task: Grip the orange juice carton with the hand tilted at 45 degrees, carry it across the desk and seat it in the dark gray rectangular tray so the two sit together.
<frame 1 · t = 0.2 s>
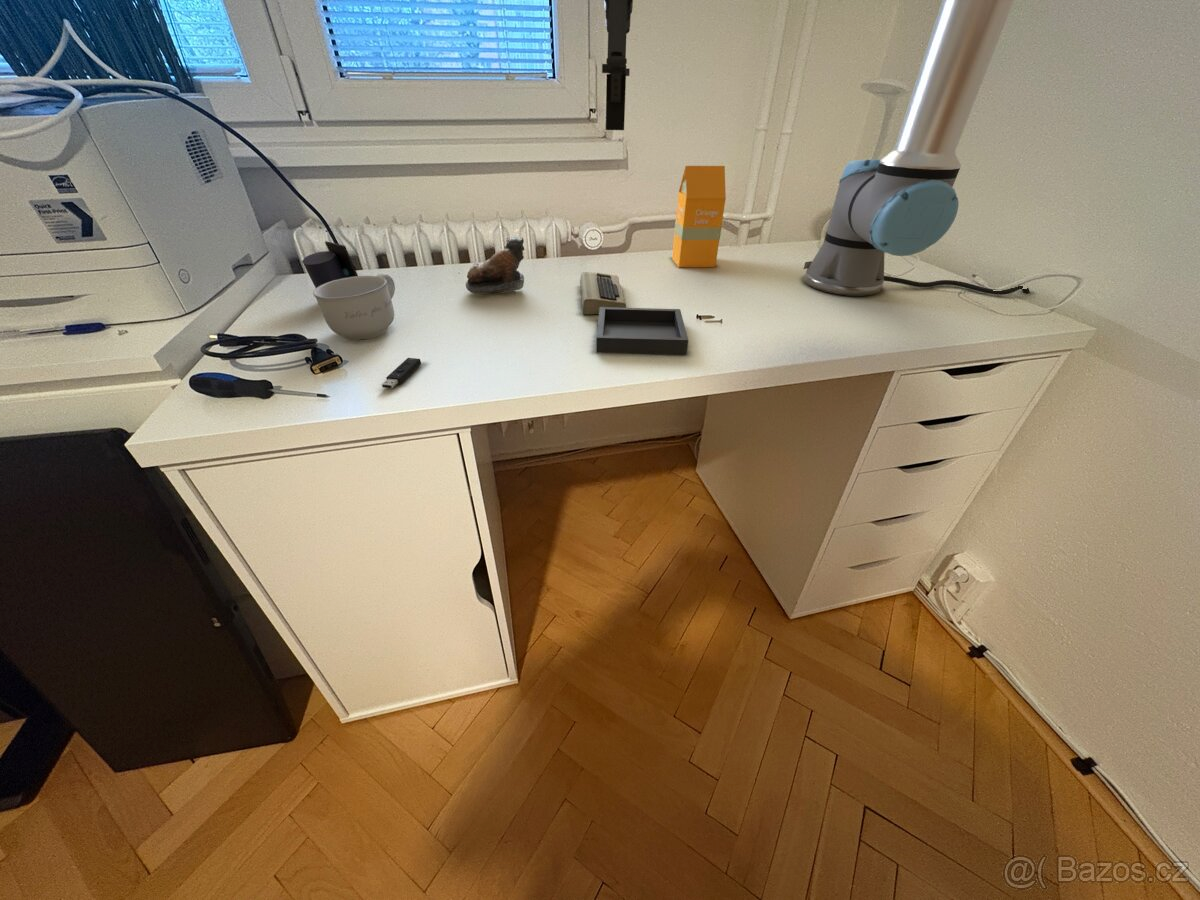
hand: (615, 127, 76), 28 cm above the table, tool pointing down, fingers open, 13 cm apart
usb flash drive: (402, 377, 68), on the table
dark gray rectangular tray: (640, 336, 80), on the table
bison figurine: (497, 292, 97), on the table
computer: (601, 300, 94), on the table
speaker: (341, 303, 91), on the table
orange juice: (693, 263, 115), on the table
teacup: (372, 330, 81), on the table
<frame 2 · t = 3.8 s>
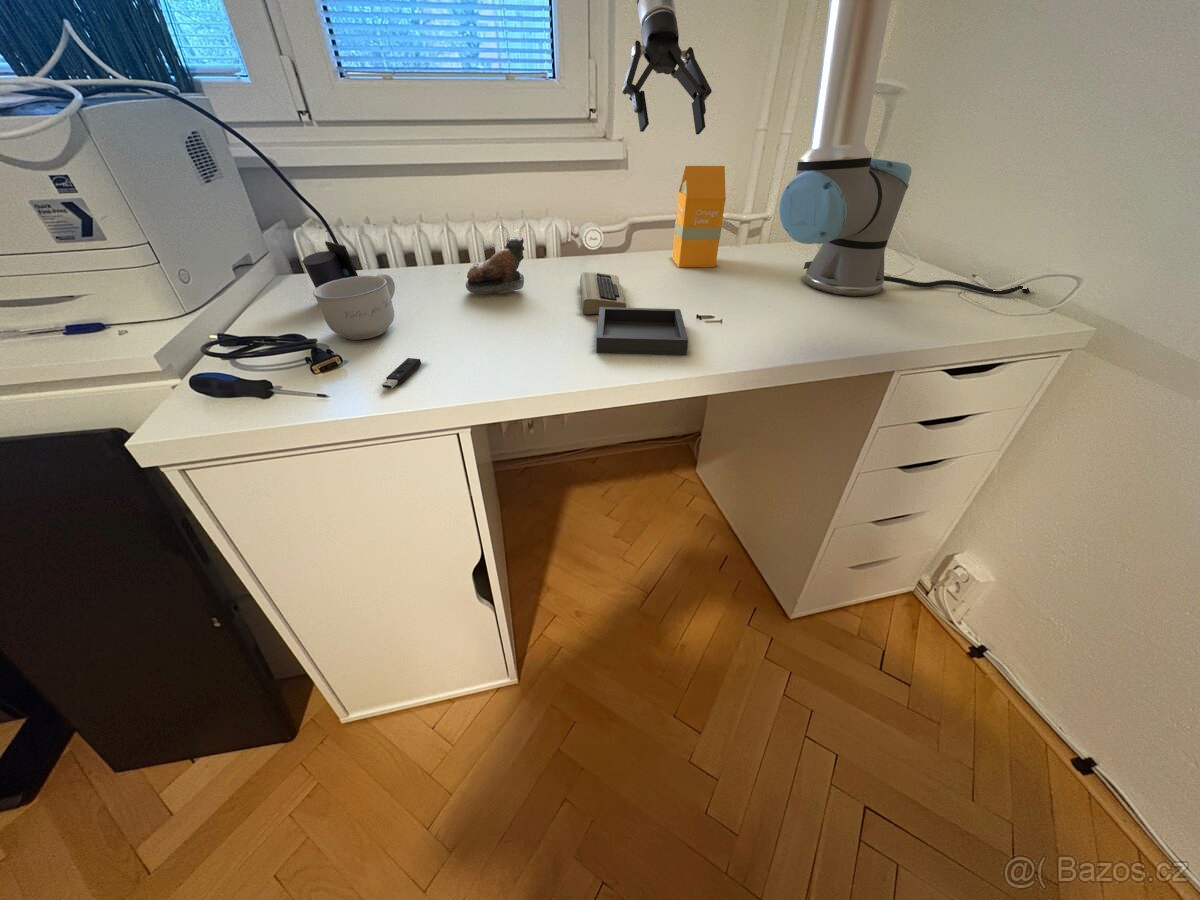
hand: (673, 129, 102), 26 cm above the table, tool tilted 35°, fingers open, 13 cm apart
nothing on the table moved.
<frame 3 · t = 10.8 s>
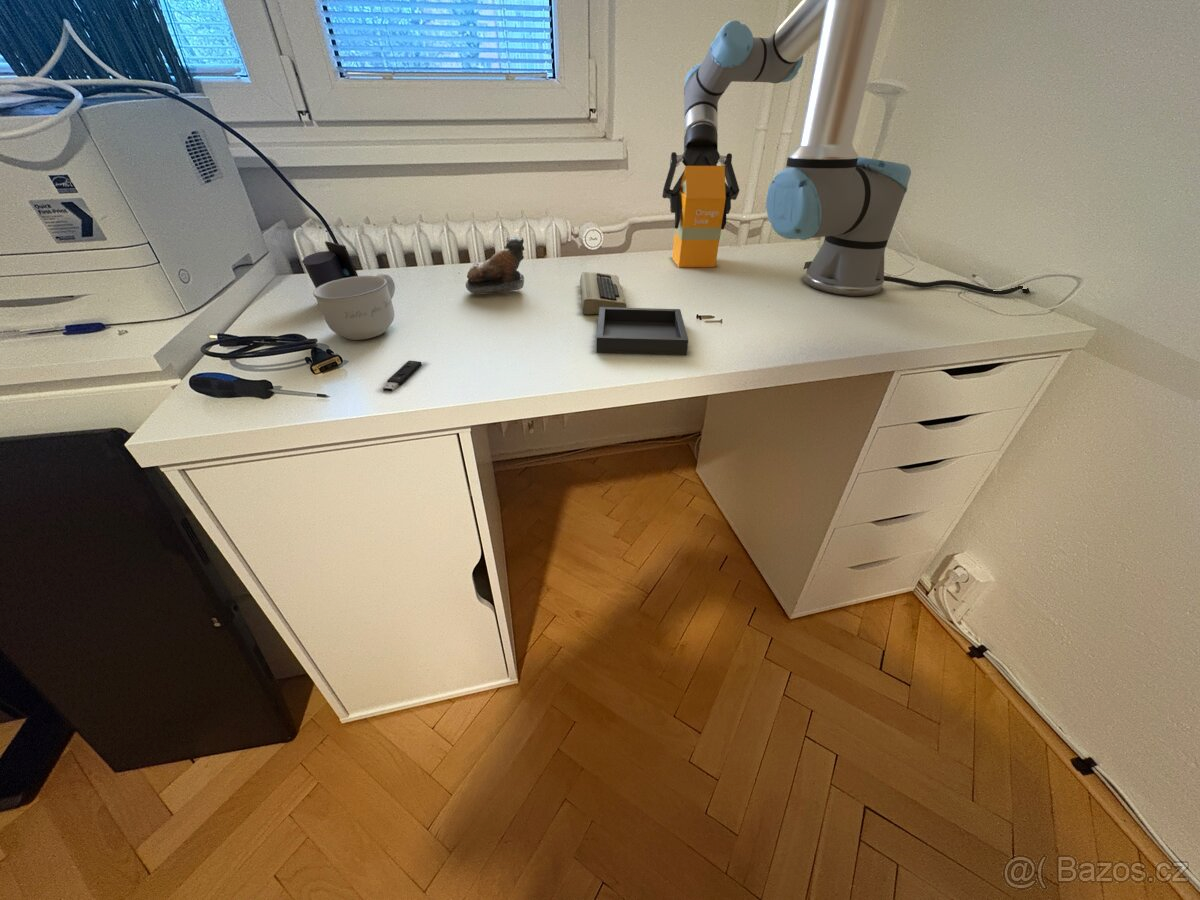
hand: (700, 225, 107), 9 cm above the table, tool tilted 45°, fingers closed on orange juice, 9 cm apart
orange juice: (693, 263, 115), on the table, touching gripper
everything else where it was.
when the fingers open (9 cm above the table, at t = 24.0 s): orange juice stays where it is, resting on dark gray rectangular tray.
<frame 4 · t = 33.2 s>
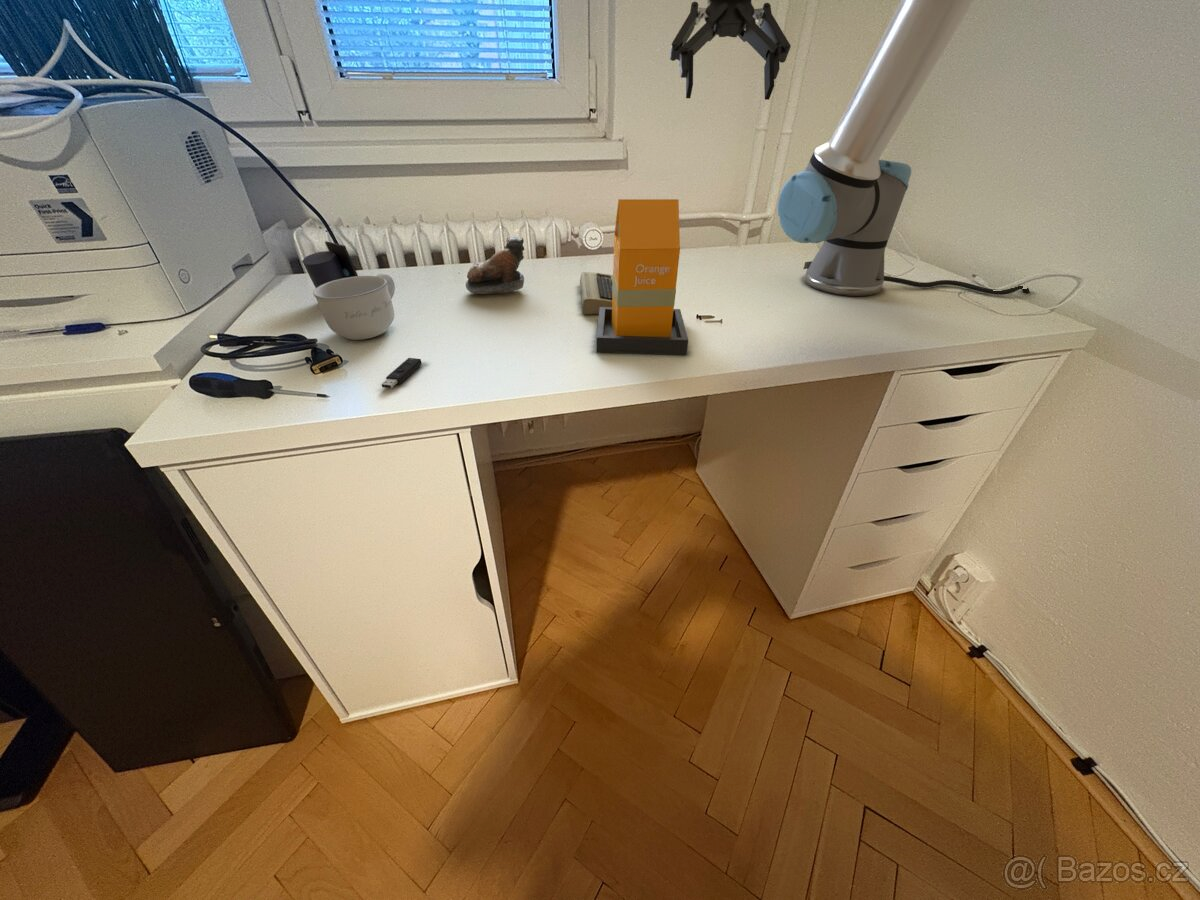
hand: (729, 92, 82), 33 cm above the table, tool tilted 45°, fingers open, 13 cm apart
orange juice: (639, 334, 80), resting on dark gray rectangular tray
everything else where it was.
at the end: orange juice 0.1 cm off-centre in the dark gray rectangular tray, point 0.3 cm above the dark gray rectangular tray's base; orange juice tilted 0°; the gripper is holding nothing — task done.
